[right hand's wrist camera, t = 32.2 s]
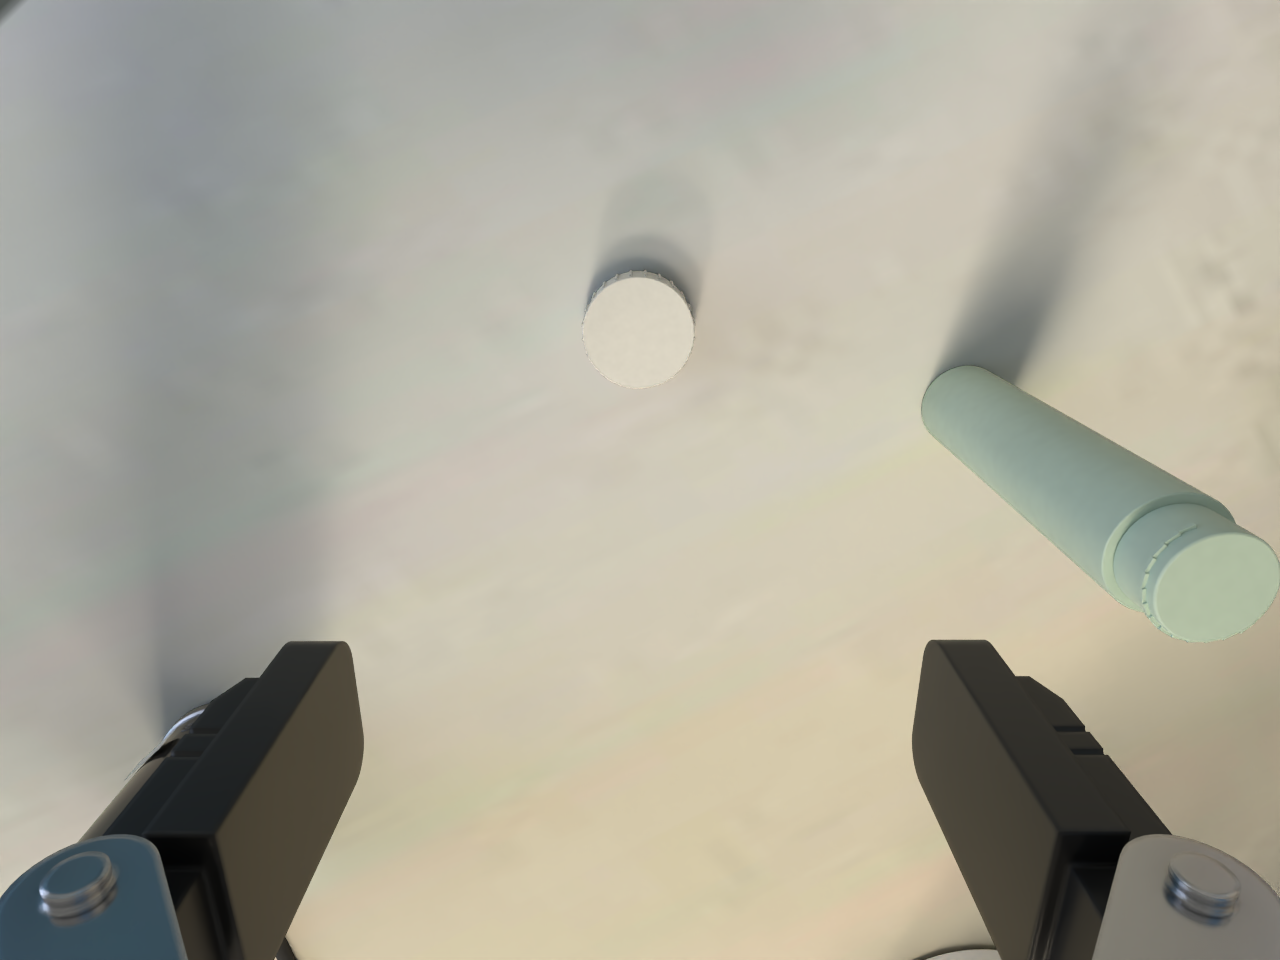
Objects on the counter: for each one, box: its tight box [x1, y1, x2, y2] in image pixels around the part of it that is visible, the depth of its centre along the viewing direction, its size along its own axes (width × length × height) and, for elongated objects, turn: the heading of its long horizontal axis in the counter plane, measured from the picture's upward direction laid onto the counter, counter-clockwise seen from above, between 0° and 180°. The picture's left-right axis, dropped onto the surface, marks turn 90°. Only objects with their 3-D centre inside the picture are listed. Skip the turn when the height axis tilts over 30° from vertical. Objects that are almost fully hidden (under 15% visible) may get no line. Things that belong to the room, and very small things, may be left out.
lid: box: [582, 270, 695, 389], centre depth 38 cm, size 5×5×2 cm
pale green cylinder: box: [921, 366, 1280, 643], centre depth 31 cm, size 4×4×19 cm
